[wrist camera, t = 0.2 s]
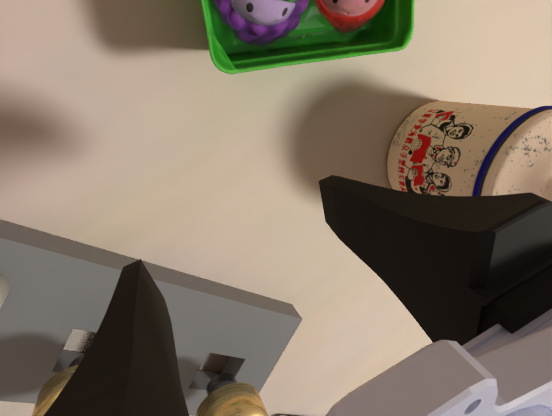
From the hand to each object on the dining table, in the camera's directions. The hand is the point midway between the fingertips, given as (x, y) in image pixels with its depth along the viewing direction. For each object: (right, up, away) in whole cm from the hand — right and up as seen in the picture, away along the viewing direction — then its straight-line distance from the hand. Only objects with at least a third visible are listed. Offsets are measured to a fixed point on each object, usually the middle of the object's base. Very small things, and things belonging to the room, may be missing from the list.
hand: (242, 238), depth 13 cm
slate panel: (-9, -7, +11) cm, 16 cm away
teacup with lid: (+14, +4, +17) cm, 22 cm away
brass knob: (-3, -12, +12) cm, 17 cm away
